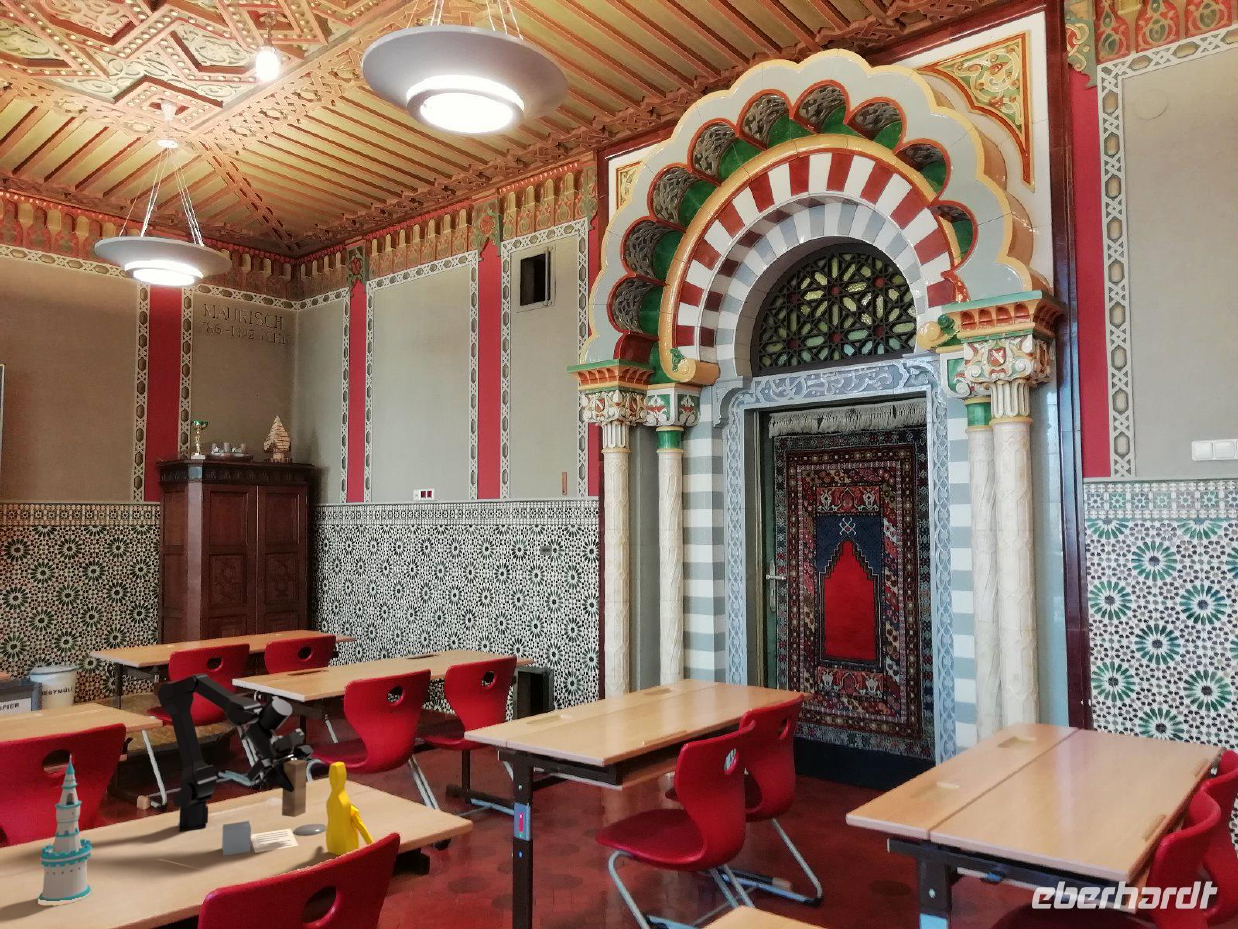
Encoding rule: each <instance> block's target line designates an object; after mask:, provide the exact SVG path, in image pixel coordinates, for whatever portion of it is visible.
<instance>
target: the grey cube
mask: <svg viewBox="0 0 1238 929" xmlns="http://www.w3.org/2000/svg"><path fill="white" fill-rule="evenodd" d="M251 835H252V827H251V823H250V821H249V820H247V821H246V820H245V821H238V822H232V823H224V824H222V836H221V837H222V839H221V840H222V841H221V850H222V855H223V856H224V855H226V856H230V855H237V854H242V853H243V854H244V853H250V852H251V844H252V841H251Z"/></svg>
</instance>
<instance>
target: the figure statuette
mask: <svg viewBox="0 0 1238 929" xmlns="http://www.w3.org/2000/svg"><path fill="white" fill-rule="evenodd" d="M328 781H329V784H330V788H331V792H330V794H329V796H328V797H327V800H326V804H325V805H326V814H327V825H326V827H327V829H326V831H325V842H326V843H325V844H326V849H327V852H328V853H330V854H333V855H336V856H339V855H343V854H346V853H347V852H351V851H353V850H355V849H359V850H360V837H359V834H360V836H361V838H362V839H363V840H364V842H365V843H366V846H367V845H369V844H371V843H373V842H374V840H373V838H372V836H371V834H370V833H369V831H368V829H367V828H366V826H365V823H364V822H363V820H362V818H361V815H360V810H359V808H358V807H356V806H355V805H354V804H353V803H352V802H351V800H350V798H349V796H348V793H347V791H346V788H345V787H346V782H347V770H346V765H345V763H344V762H342V761H337V762H334V763H331V764H330V765H329V769H328ZM374 843H375V842H374Z"/></svg>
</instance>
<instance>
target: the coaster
mask: <svg viewBox="0 0 1238 929" xmlns="http://www.w3.org/2000/svg"><path fill="white" fill-rule="evenodd" d="M326 829H327V825H326V824H321V823H310V824H305V825H300V826H297V827H296V828H295V829H294V832H293V833H294V834H295V835H297V836H314V835H319V834H322V833H324V832H326Z"/></svg>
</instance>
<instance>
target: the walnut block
mask: <svg viewBox="0 0 1238 929" xmlns="http://www.w3.org/2000/svg"><path fill="white" fill-rule="evenodd" d="M307 765H308V763H307V760H295V759H294V760H291V761H288V762H285V763H284V772H285V774H286V775H287V777H288V779H289V780H290V782H291V784H292V786H293V788H294V791H293V792H289V791H287V790H285V789H283V788H282V797H281V798H282V802H281V803H282V805H281V816H283V817H291V818H295V817H298V816H302V815H303V814H305V813H306V807H307V806H306V804H307V801H306V800H307V795H306V794H307Z"/></svg>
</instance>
